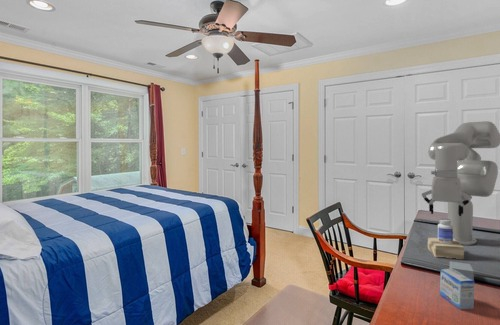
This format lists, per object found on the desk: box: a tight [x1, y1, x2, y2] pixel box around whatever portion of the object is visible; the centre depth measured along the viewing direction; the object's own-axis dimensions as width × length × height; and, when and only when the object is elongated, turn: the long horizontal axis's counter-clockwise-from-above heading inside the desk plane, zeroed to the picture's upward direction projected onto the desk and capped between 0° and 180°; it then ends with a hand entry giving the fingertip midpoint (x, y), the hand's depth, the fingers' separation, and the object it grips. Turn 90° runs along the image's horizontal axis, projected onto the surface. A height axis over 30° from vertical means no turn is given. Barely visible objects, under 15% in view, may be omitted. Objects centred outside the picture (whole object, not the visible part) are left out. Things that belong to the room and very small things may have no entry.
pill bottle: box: [437, 218, 453, 244], centre depth 119 cm, size 5×5×10 cm
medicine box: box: [439, 268, 475, 311], centre depth 85 cm, size 8×4×9 cm, turn 5°
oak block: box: [427, 237, 465, 260], centre depth 119 cm, size 10×10×5 cm
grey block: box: [448, 260, 475, 281], centre depth 100 cm, size 6×6×4 cm
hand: (445, 214), depth 119 cm, fingers open, 9 cm apart
